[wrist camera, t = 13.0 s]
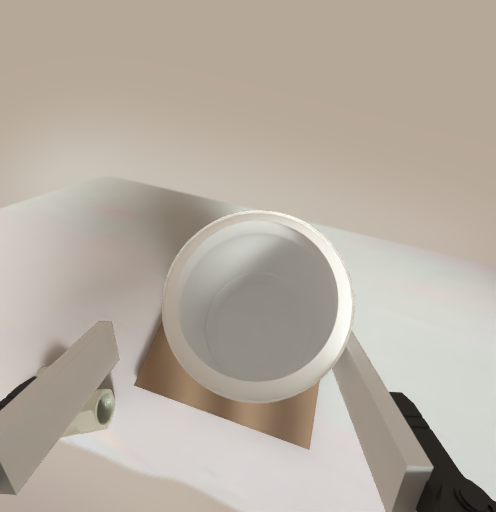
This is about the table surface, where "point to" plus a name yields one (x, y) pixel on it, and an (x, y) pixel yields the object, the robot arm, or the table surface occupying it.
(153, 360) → the walnut board
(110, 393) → the pipe fitting
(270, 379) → the jar
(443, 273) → the table surface
